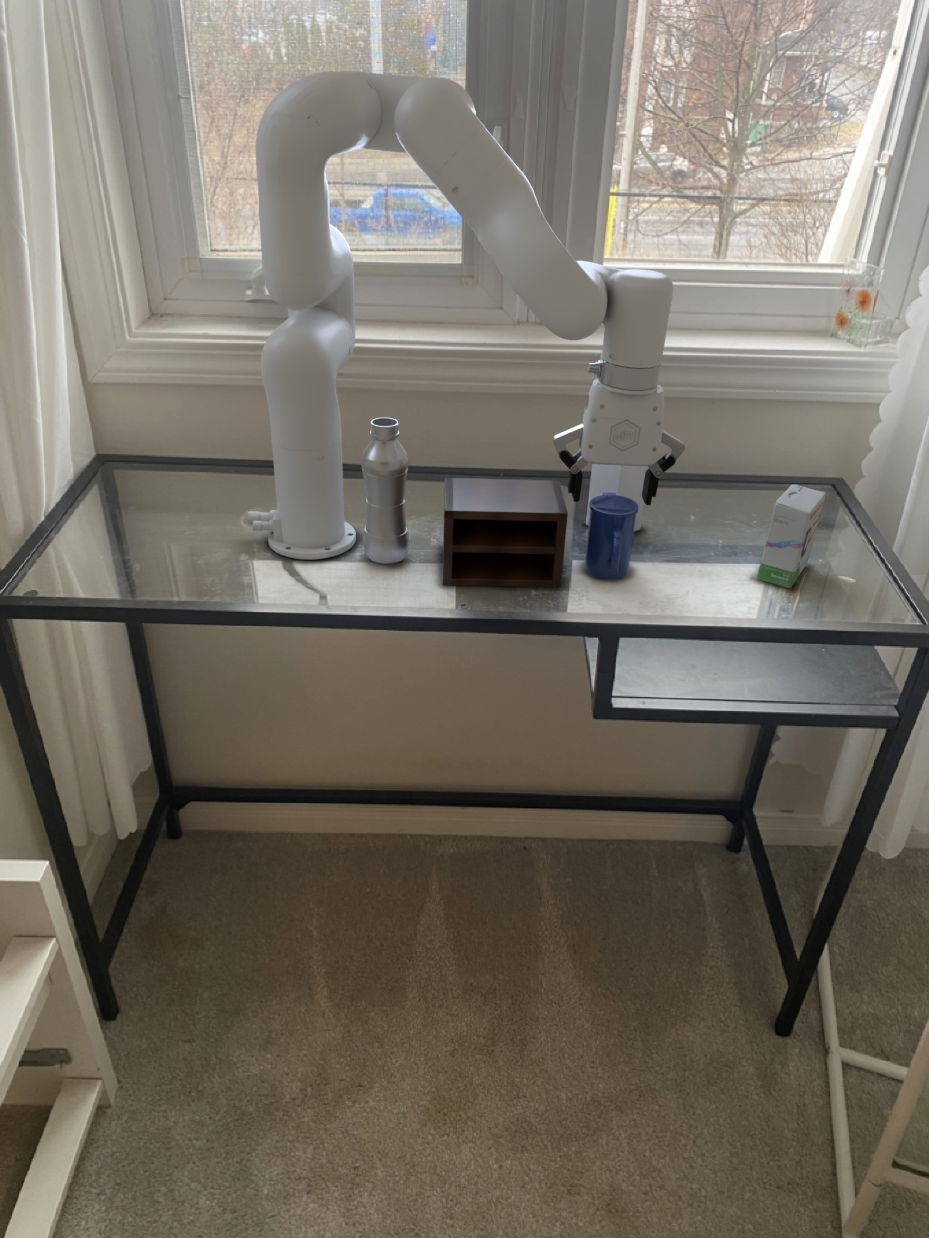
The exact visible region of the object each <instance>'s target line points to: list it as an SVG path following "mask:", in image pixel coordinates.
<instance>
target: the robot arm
mask: <svg viewBox="0 0 929 1238" xmlns="http://www.w3.org/2000/svg"><path fill="white" fill-rule="evenodd" d="M355 150H371V151H381V152H382V151H383V152H391V153H404V154H405V153H406V154H407V155H408V156H409V158H410V159H411V160H412V161H413V162H414V163H415V165H416V166H417V167H418V168H419V169H420V170H421V172H422V173H423V174H424V175H425V176H426V178H427V179H428V180H429V181H430V182H431V183H432V184H433V185H434V187H435V188H436V190H438V191H439V193H440V194H441V195H442V196H443V197H444V198H445V200H446V201H447V202H448V203H449V204H450V205H451V206H452V207H453V209H454V210H455V211H456V212H457V214H458V215H459V216H460V217H461V219H463V221H464V223H466V224H467V226H468V227H469V228H470V229H471V230H472V232H473V233H474V235H475V236H476V239H477V240H478V241H479V244H480V245H481V246H482V248H483V249H484V251H485V252H486V254H488V256H489V257H490V259H491V260H492V262H493V263H494V265H495V266H496V268H497V269H498V270H499V273H500V274H501V275H502V276H503V278H504V279H505V281H506V282H507V284H508V285H509V286H510V288H511V289H512V290H513V292H515V294H516V295H517V296H518V297H519V298H520V300H521V301H522V302H523V303H524V304H525V305H526V306H527V308H528V309H529V310H530V311H531V312H532V314H533V315H534V316H535V317H536V318H537V319H538V320H539V321H540V323H541V324H542V325H543V326H544V327H545V328H546V329H547V330H548V331H549V332H551V333H552V334H554V335H555V336H556V337H558V338H561V339H564V340H567V341H580V340H584V339H586V338H589V337H590V336H592V335H593V334H594V333H596V332H597V331H598V329H600V327H601V326H602V325H603V326H604V332H603V340H602V347H601V355H600V356H599V359H598V360H597V361H595V362H589V363H588V365H587V374H588V375H593V376H596V377H597V378H596V379H594V380H593V381H592V383H591V386H590V389H589V392H588V396H587V399H586V403H585V407H584V412H583V417H582V420H581V423H580V424H578V425H575V426H574V427H571V428H569V429H566V430H564V431H562V432H559V433H557V434H554V435H553V436H552V442H553V445H554V447H555V450H556V452H557V454H558V456H559V459H560V461H562V463H563V464H564V465H565V467H567V469H568V470H569V475H568V484H567V493H568V494H571V496H572V500H573V502H574V503H578V502H580V500H581V491H582V484H583V477H584V476H583V472H582V470H583V469H584V468H585V466H587V465H588V464H591V465H592V464H603V465H622V466H648V467H649V469H647V471H646V472H645V478H644V484H643V490H642V498H643V500H644V505H646V506H651V505H652V499H653V498H656V497H657V491H658V488H659V487H658V485H659V481H660V478H662V477H663V476H664V473H665V472H666V471H668V470H669V469H671V468H672V467H673V466H674V465H675V464H676V461H677V460H678V459H679V458H680V457H681V455H682V454H683V452H684V451H685V450H686V445H685V444H684V442H683V441H682V440H680V439H679V438H677V437H675V436H673V435H672V434H670V433H669V432H667V431H666V430H664V429H663V428H664V416H665V390H664V388H663V387H662V386H661V385H660V384H659V381H660V374H661V367H662V362H663V355H664V349H665V344H666V337H667V331H668V327H669V326H668V325H669V320H670V313H671V307H672V301H673V295H674V294H673V293H674V283H673V281H672V279H671V277H669V275H667V274H665V273H663V272H660V271H657V270H651V269H644V268H643V269H642V268H629V269H628V268H627V269H622V268H616V267H613V266H607V265H603V264H600V263H595V262H593V261H586V260H576V259H575V258H574V257H573V255H572V254H571V253H570V252H569V250H568V249H567V248H566V246H565V245H564V244H563V243H562V242H561V240H560V239H559V238H558V236H557V235H556V233H555V231H554V230H553V229H552V227H551V225H550V224H549V223H548V221H547V219H546V216H545V215H544V213H543V211H542V209H541V207H540V204H539V202H538V199H537V196H536V193H535V191H534V189H533V186H532V184H531V182H530V181H529V179H528V177H527V176H526V174H525V173H524V172H523V171H522V170H521V168H520V167H519V166H518V165H517V164H516V163H515V162H514V160H513V159H512V158H511V157H510V155H508V153H507V152H506V151H505V149H504V148H503V147H502V146H501V145H500V144H499V142H498V141H497V139H496V138H495V137H494V136H493V135H492V134H491V132H490V130H488V129H487V127H486V126H485V124H484V123H483V122H482V121H481V120H480V119H479V118H478V116H477V111H476V108H475V104H474V101H473V99H472V97H471V96H470V94H469V92H468V91H467V90H466V88H464V87H463V86H462V85H461V84H460V83H458V82H456V81H455V80H453V79H450V78H445V77H421V76H406V75H397V74H385V73H375V72H366V71H354V70H338V71H337V70H335V71H334V70H328V71H321V72H315V73H312V74H309V75H307V76H303V77H302V78H299V79H298V80H296V81H293V82H292V83H290V84H288V85H287V86H286V87H284V88H283V89H282V90H281V91H279V92H278V93H277V94H276V95H275V96H274V97H273V98H272V99H271V101H269V103H268V104H267V106H266V107H265V109H264V111H263V113H262V115H261V117H260V121H259V123H258V127H257V132H256V139H255V167H256V178H257V193H258V219H259V232H260V233H259V234H260V235H259V237H260V249H261V269H262V270H261V271H262V277H263V282H264V286H265V288H266V290H267V293H268V294H269V296H270V297H271V298H272V300H273V301H274V302H275V303H276V304H278V305H279V306H280V307H282V308H284V309H287V317H288V318H287V319H286V320H284V321H283V322H282V323H280V324H279V325H278V326H277V327H276V328H275V329H274V330H272V332H271V333H270V334H269V335H268V337H267V338H266V340H265V343H264V345H263V347H262V351H261V356H260V373H261V379H262V383H263V388H264V392H265V396H266V401H267V408H268V416H269V425H270V426H269V427H270V439H271V446H272V447H271V448H272V449H271V450H272V461H273V462H272V463H273V474H274V476H273V477H274V488H275V503H276V509H270V510H269V511H267V512H266V511H258V510H257V511H251V510H249V511H247V516H246V519H247V525H249V526H250V525H252V530H253V531H262V532H263V531H269V532H268V534H267V543H268V545H269V547H270V549H272V551H274V552H275V553H277V554H279V555H281V556H284V557H286V558H291V559H295V560H311V561H312V560H322V559H329V558H332V557H336V556H339V555H342V554H344V553H345V552H347V551H349V550H350V549H351V548H353V547H354V545H355V544H356V541H357V534H356V533H357V532H356V529H355V527H353V526H352V524H350V523H349V522H347V521H345V498H344V497H345V496H344V495H345V494H344V470H343V469H344V467H343V439H342V418H341V410H340V404H339V398H338V393H337V386H336V385H337V384H336V381H337V376H338V374H340V372H341V371H342V370H343V368H344V367H346V365H347V364H348V362H350V359H351V358H352V355H353V353H354V350H355V346H356V302H355V299H356V298H355V297H356V296H355V268H354V258H353V254H352V251H351V248H350V245H349V243H348V241H347V239H346V237H345V236H344V235H343V234H342V232H341V231H340V230H339V229H338V228H337V227H336V226H334V225H333V224H331V220H330V201H331V199H330V190H329V185H328V178H327V173H326V171H327V165H328V162H329V160H330V159H331V158H333V157H334V156H338V155H342V154H345V153H350V152H353V151H355ZM578 439H579V440H578ZM576 440H578V447H579V449H578V450H577V451H576V452H575V453H574V454H572V453H571V452H570V451H569V450H568V448H567V446H566V445H567V444H570V442H574V441H576ZM662 444H664V445H665V446H667V447H669V449H668V452H667V453H665V454H664V455H662V456H661V457H660V454H661V447H662Z"/></svg>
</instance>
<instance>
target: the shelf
mask: <svg viewBox="0 0 929 1238" xmlns="http://www.w3.org/2000/svg"><path fill="white" fill-rule="evenodd" d="M443 486H444V487H443V488H444V489H443V528H442V529H443V532H442V533H443V534H442V586H469V587H470V586H474V587H476V586H477V587H478V586H479V587H521V588H523V587H524V588H525V587H527V588H528V587H530V588H561V587H562V580H563V579H562V578H563V569H564V557H565V547H566V546H565V545H566V536H567V524H568V515H569V513H568V509H567V505H566V501H565V498H564V493H563V490H562V489H563V488H562V485H561V482H560V480H558V479H557V480H553V479H552V480H551V479H511V478H509V479H508V478H503V479H502V478H472V477H471V478H470V477H469V478H468V477H467V478H466V477H444V484H443Z"/></svg>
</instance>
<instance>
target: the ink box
mask: <svg viewBox="0 0 929 1238" xmlns="http://www.w3.org/2000/svg"><path fill="white" fill-rule="evenodd" d="M826 496H827V492H826V491H825V492H824V491H820V490H817V489H813V488H810V487H805V486H802V485H799V484H794V483H793V484H791V485H790V486H789V487H788V488H787V489H786V490H785V491H784V492H783V493H782V494H781V495H780V496H779V497H778V499H776V502H775V504H774V507H773V511H772V514H771V520H770V524H769V528H768V531H767V536H766V540H765V544H764V547H763V552H762V556H761V560H760V564H759V568H758V571H757V572H758V573H757V576H756V580H758V581H763V582H766V583H769V584H773V585H776V586H779V587H784V588H787V589H791V588H792V587H793V586H794V584H795V583H796V581H797V580H798V578H799V576H800V575H801V573H802V572H803V570H804V569H805V568H806V566H807V565H808V562H809V558H810V555H811V552H812V548H813V544H814V540H815V537H816V533H817V529H818V525H819V522H820V518H821V514H822V512H823V511H822V510H823V507H824V504H825V500H826Z"/></svg>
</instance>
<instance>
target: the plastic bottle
mask: <svg viewBox="0 0 929 1238" xmlns="http://www.w3.org/2000/svg"><path fill="white" fill-rule="evenodd" d="M369 436H370V438H371V440H370V441H369V443H368V444H367V445H366V446H365V448H364V449H363V451H362V455H361V458H360V466H361V471H362V477H363V482H364V491H365V492H364V493H365V498H366V499H365V504H366V510H365V525H364V531H363V535H362V537H363V539H362V544H363V551H364V553H365V555H366V556H367V557H368V559H369V560H371V561H372V562H375V563H378V564H383V565H384V564H386V565H389V564H395V563H399V562H401V561H402V560H404V559H405V557H406V556H407V555H408V553H409V547H410V536H409V531H408V528H407V518H406V517H407V516H406V508H405V507H406V506H405V504H406V485H407V477H408V471H409V462H410V461H409V457H408V453H407V451H406V450H405V448H404V447H403V444H401V443H400V441H399V440H398V438H399V436H400V431H399V421H398V420H397V419H395V418H391V417H376V418H374V419H371V421H370V431H369Z"/></svg>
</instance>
